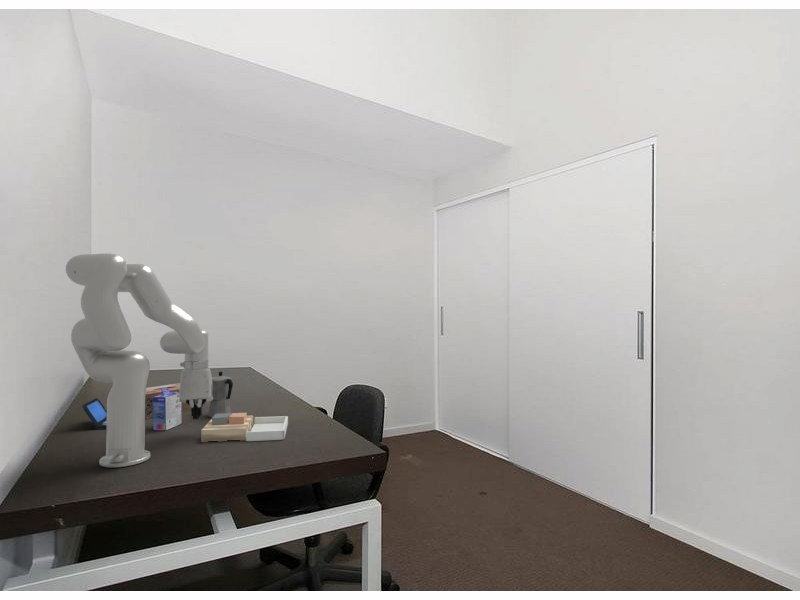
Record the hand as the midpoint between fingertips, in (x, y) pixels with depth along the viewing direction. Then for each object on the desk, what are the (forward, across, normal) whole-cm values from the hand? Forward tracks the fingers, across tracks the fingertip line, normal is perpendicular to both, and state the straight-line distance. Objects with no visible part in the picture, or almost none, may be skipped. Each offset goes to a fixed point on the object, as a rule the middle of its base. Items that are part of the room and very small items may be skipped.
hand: (196, 418), depth 156 cm
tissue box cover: (+7, -22, +40) cm, 47 cm away
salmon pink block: (+2, +14, 0) cm, 14 cm away
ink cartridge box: (+6, -13, +12) cm, 19 cm away
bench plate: (+6, +11, -1) cm, 12 cm away
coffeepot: (+7, +3, +27) cm, 28 cm away
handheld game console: (+6, -36, +20) cm, 42 cm away
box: (+6, +24, -1) cm, 25 cm away
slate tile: (+2, +8, 0) cm, 9 cm away
